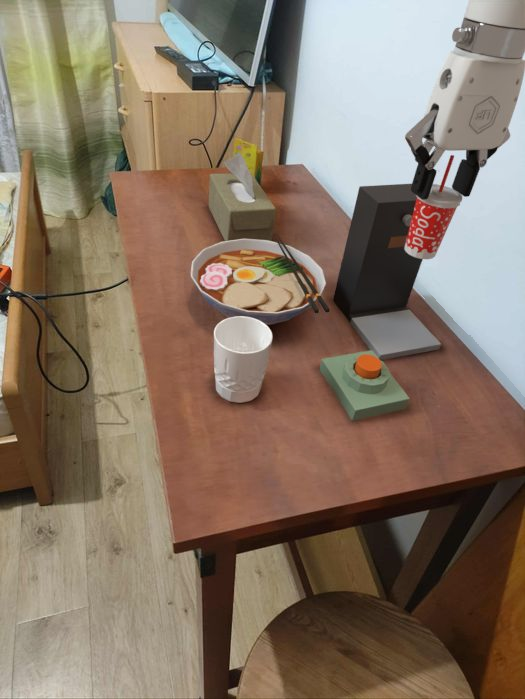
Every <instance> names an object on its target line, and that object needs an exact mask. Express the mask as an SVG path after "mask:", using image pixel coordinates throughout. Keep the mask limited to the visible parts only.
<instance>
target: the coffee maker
mask: <svg viewBox="0 0 525 699" xmlns="http://www.w3.org/2000/svg"><path fill="white" fill-rule="evenodd" d="M411 186H412V183H399V184H397V183H395V184H380V185H379V184H378V185H360V186H359V187H358V192H357V195H356V200H355V204H354V208H353V213H352V217H351V221H350V225H349V230H348V232H347V233H348V234H347V239H346V242H345V246H344V251H343V255H342V260H341V264H340V268H339V272H338V277H337V281H336V283H335V289H334V294H333V297H332V302H333V303H334V305H335V306H336V307H337V309H338V310H339V312H341V314H342V315H343V317H344V318H345V319H346V321H348V323H349V324H350V326H351V327H352V328H353V329H354V331H355V332H356V333H357V335H358V336H359V337H360V338H361V340H362V341H363V342H364V343H365V345H366V346H367V347H368V350H369V351H370V350H373V352H374V353H375V354H376V356H377V357H378V358H379V359H380V360H381V361H383V360H388V359H389V360H390V359H393V358H399V357H405V356H410V355H415V354H420V353H426V352H432V351H437V350H440V349H441V346H442V343H441V342H440V341H439V340H438V339H437V337H435V335H434V334H433V333H432V332H431V331H430V330H429V329H428V328H427V327H426V326H425V325H424V323H423V322H422V321H420V319H418V317H417V316H416V315H415V314H414V313H413V312H412V311H411V310H410V309H409V307H407V305H408V302H409V300H410V297H411V294H412V292H413V287H414V286H415V282H416V279H417V277H418V274H419V271H420V268H421V265H422V262H423V261H424V259H420V258H416V257H413V256H411V255H409V254H408V253H407V252H406V251H405V249H404V248H405V244H406V240H407V236H408V232H409V228H410V224H411V220H412V216H413V212H414V208H415V204H416V200H417V196H416V195H415V194H414V193H413V192H412V191H411Z"/></svg>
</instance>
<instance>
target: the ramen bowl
mask: <svg viewBox="0 0 525 699" xmlns="http://www.w3.org/2000/svg"><path fill="white" fill-rule="evenodd" d="M273 238H274V239H275V241H273V240H272V241H268V240H256V239H238V240H231V241H225V240H224V241H220V242H218V243H215V244H212V245H210V246H207V247H205V248H203V249H202V250H200V252H199V253H198V254H197V255H196V256H195V257H194V258H193V260H191V266H190V267H191V268H190V278H191V280H192V281H193V283H194V286H196V288H197V289H198V291H199V292H200V294H201V296H202V297H203V299H204V300H205V301H206V302H207V303H208V305H210V306H211V307H212V308H213V309H215V310H216V311H218V312H219V313H220V314H222V315H224V316H225V317H227V318H230V317H236V316H245V317H251V318H254V319H257V320H259V321H261V322H263V323H264V324H266V325H267V326H268V325H275V324H278V323H283V322H287V321H290V320H291V319H294V318H295V317H296V316H298V315H300V314H302V313H304V312H305V311H307V310H308V309H309V308H310V307H311V310H312V311H313V313H314V314H320V308H319V307H318V305H317V304H316V302H318V303H319V305H320V306H321V308H322V310H323V311H324V312H325V313H326V314H327V313H330V311H331V308H330V307H329V306H328V304H327V302H326V300H324V298H323V297H322V293H323V291H324V289H325V287H326V285H327V281H326V278H325V277H326V276H325V274H324V270H323V268H322V267H321V266H320V265H319V264H318V263H317V262H316V261H315V260H314V259H313V258H312V257H311V256H310V255H308V254H306V253H305V252H302V251H301V250H298V249H296V248H295V247H293V246H291V245H287V244H285V243H284V242H283V240H282V239H281V237H280V236H279V234H278V233H277V232H275V233H274V232H273Z"/></svg>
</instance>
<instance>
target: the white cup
mask: <svg viewBox="0 0 525 699" xmlns="http://www.w3.org/2000/svg"><path fill="white" fill-rule="evenodd" d="M273 339H274V338H273V332H272V329H270V327H269V326H268V325H266V324H264V323H263V322H261V321H259V320H257V319H254V318H251V317H245V316H236V317H230V318H228V317H227V318H225V319H222V320H221V321H220V322H218V323H217V324H216V325H215V327H214V329H213V371H214V372H213V373H214V384H215V385H214V386H215V391H216V393H217V394H218V395H219V396H220V398H222V399H225V400H226V401H228V402H230V403H231V402H232V403H237V404H238V403H240V404H241V403H247V402H251V401H252V400H254V399H255V398H257V397H258V396H259V394H260V393H261V390H262V387H263V381H264V379H265V375H266V370H267V366H268V362H269V357H270V352H271V347H272V343H273Z"/></svg>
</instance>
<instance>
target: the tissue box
mask: <svg viewBox="0 0 525 699" xmlns="http://www.w3.org/2000/svg"><path fill="white" fill-rule="evenodd" d="M223 164H224V165H225V167H226V168H227V169H228V171H229V172H230V173H210V174H209V184H208V185H209V186H208V190H209V191H208V209H209V211H210V213H211V215H212V216H213V217H212V218H213V219H214V222H215V223H216V226H217V228H218V230H219V232H220V234H221V236H222V239H223V240H224V241H231V240H238V239H256V240H268V241H272V242H273V238H274V235H273V233H274V232H275V223H276V216H277V215H276V213H277V209H276V207H275V205H274V204H273V203H272V201H271V199H270V198H269V197H268V195H267V194H266V192H265V191H264V189H263V188H262V186H260V185H259V184H258V182H257V181H256V179H255V178H254V176H253V175H252V173H250V172H249V169H248V167H247V165H246V162H245V160H244V158H243V156H242V154H241V153H238V154H237V155H235V156H234V157H233V156H231V157H230V158H228V159H227V160H224V161H223Z"/></svg>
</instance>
